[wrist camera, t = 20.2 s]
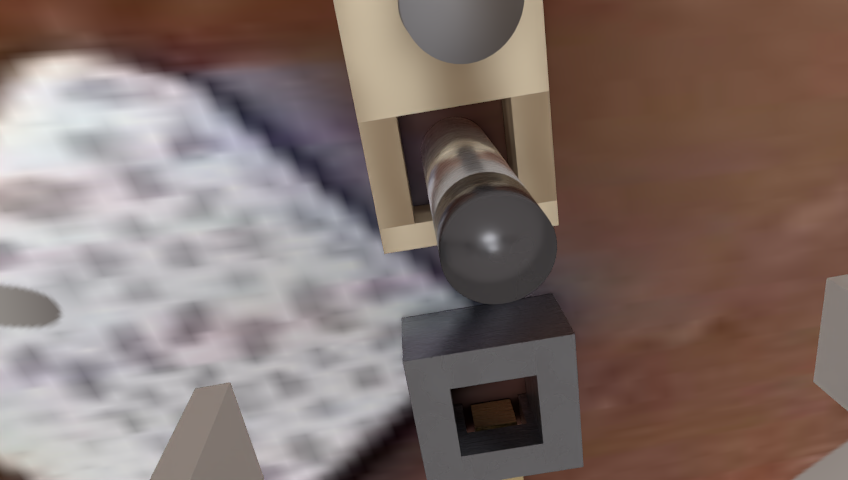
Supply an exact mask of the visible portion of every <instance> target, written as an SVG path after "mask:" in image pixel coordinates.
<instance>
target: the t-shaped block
mask: <svg viewBox="0 0 848 480" xmlns="http://www.w3.org/2000/svg"><path fill="white" fill-rule="evenodd" d="M471 410H472V417H473V423H474V429H475V432H476V431H482V430H489V429H495V428H501V427H508V426H514V425H517V421H516V418H515V414H514V411H513V408H512V404H511V401H510V399H506V400H499V401H493V402H487V403H481V404H474V405H471ZM503 480H524V479H523V476H522V477H515V478H509V479H503Z"/></svg>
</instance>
